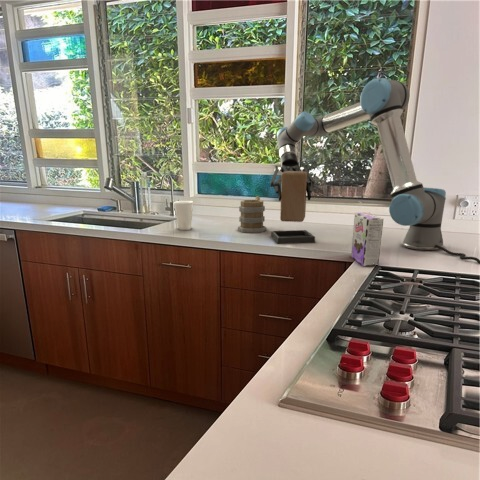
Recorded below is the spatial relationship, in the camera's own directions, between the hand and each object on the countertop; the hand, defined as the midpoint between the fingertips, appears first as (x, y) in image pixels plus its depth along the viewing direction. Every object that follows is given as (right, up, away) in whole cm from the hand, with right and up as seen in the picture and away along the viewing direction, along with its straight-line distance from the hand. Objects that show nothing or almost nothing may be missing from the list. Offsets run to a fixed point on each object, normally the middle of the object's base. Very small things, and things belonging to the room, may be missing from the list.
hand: (295, 198), depth 194 cm
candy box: (+21, -30, -29) cm, 47 cm away
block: (0, -8, +6) cm, 10 cm away
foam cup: (-51, -6, +36) cm, 62 cm away
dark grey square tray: (0, -16, +9) cm, 18 cm away
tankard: (-16, -6, +33) cm, 38 cm away
